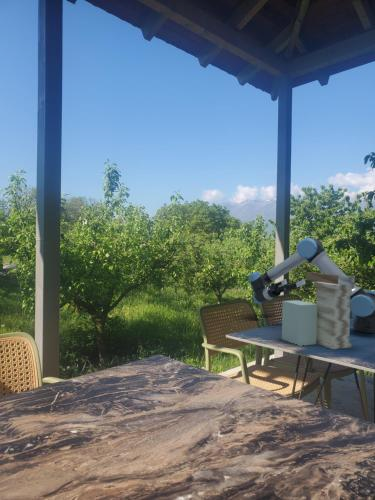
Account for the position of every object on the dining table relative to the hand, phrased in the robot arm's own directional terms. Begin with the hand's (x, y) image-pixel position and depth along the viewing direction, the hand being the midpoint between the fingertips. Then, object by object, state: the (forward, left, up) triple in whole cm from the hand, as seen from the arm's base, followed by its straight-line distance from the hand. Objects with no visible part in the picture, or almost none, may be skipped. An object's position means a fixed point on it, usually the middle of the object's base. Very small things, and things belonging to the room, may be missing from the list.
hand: (295, 281), depth 221 cm
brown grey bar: (+2, +28, +2) cm, 28 cm away
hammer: (-50, -17, -28) cm, 60 cm away
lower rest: (+14, +21, -28) cm, 37 cm away
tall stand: (+2, +31, -28) cm, 42 cm away
